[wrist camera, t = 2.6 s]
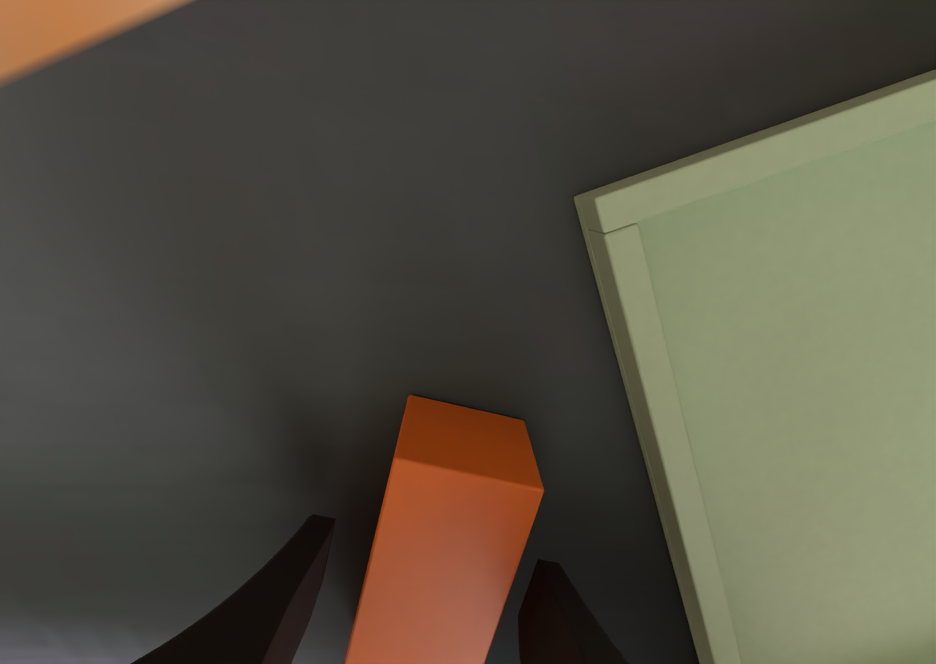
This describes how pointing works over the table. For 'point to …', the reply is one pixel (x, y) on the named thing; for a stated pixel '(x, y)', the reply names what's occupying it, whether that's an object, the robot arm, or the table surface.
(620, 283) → the tray
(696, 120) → the table surface
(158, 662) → the robot arm
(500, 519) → the screwdriver
